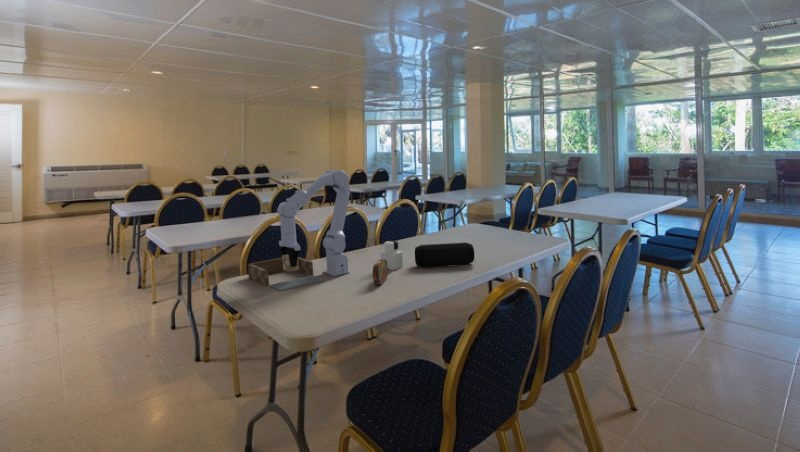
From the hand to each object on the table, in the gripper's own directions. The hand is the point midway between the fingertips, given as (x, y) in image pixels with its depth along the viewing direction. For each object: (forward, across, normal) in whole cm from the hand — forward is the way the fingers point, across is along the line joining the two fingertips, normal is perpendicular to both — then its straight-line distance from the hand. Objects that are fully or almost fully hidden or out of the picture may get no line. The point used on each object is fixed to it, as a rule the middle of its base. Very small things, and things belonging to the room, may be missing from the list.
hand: (290, 265), depth 176 cm
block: (+2, 0, 0) cm, 2 cm away
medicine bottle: (+7, +13, +42) cm, 45 cm away
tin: (+7, +26, +25) cm, 37 cm away
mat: (+7, +5, 0) cm, 8 cm away
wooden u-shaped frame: (+7, -10, 0) cm, 12 cm away
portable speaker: (+7, +27, +61) cm, 67 cm away
